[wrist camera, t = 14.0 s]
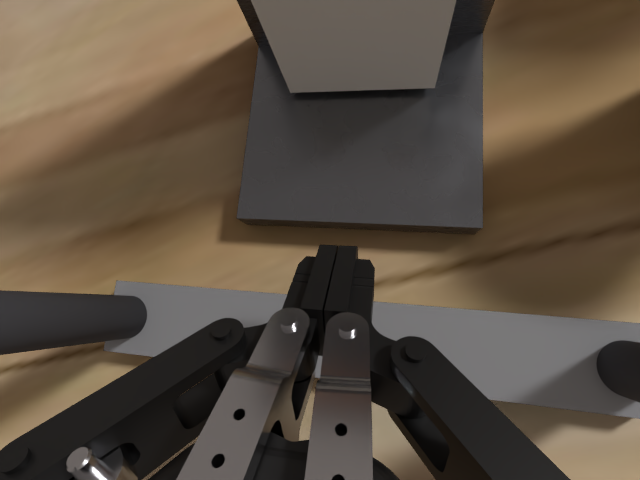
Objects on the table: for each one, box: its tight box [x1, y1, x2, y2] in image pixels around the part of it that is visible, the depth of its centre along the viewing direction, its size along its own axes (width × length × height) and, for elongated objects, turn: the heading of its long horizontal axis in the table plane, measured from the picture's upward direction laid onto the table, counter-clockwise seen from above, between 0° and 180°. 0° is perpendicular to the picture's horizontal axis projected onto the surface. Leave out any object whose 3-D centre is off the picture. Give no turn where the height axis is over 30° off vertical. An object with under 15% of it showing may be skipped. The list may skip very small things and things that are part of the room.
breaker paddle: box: [251, 0, 456, 93], centre depth 16 cm, size 3×8×7 cm, turn 84°
